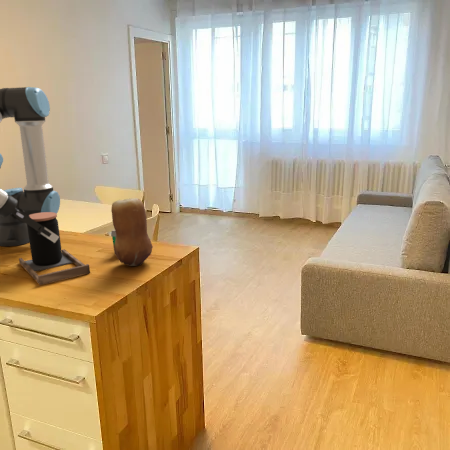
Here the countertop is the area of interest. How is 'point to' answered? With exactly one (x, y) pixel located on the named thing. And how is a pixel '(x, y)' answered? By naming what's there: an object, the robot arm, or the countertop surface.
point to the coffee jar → (44, 240)
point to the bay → (58, 275)
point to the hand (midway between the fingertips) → (51, 235)
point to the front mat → (38, 268)
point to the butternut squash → (131, 231)
